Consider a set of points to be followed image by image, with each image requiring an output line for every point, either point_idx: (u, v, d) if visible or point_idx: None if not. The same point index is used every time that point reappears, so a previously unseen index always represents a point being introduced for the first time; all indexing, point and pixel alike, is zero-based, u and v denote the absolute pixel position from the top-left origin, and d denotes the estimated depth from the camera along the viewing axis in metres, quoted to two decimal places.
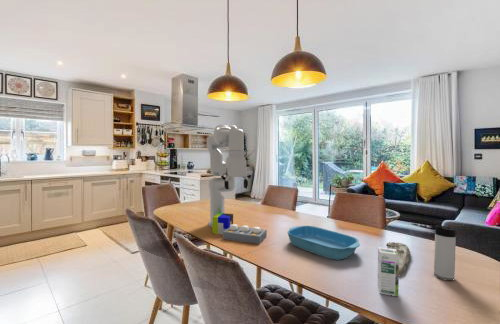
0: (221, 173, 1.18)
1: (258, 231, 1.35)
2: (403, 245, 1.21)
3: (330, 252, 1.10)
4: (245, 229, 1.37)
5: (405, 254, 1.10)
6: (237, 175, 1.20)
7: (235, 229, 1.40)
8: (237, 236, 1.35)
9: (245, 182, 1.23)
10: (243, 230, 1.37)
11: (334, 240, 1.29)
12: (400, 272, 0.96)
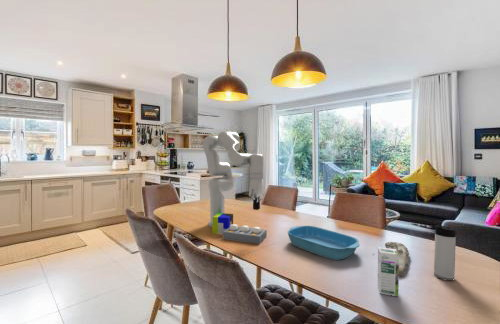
0: (254, 198, 1.32)
1: (258, 231, 1.35)
2: (401, 245, 1.22)
3: (330, 252, 1.10)
4: (245, 229, 1.37)
5: (404, 254, 1.10)
6: (259, 195, 1.35)
7: (235, 229, 1.40)
8: (237, 236, 1.35)
9: None
10: (243, 230, 1.37)
11: (334, 240, 1.29)
12: (402, 272, 0.96)
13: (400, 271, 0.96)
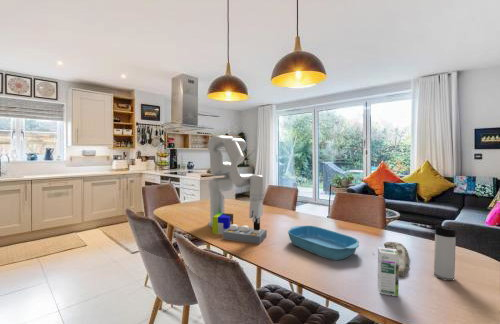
0: (255, 219, 1.32)
1: (258, 233, 1.35)
2: (399, 244, 1.22)
3: (328, 252, 1.10)
4: (245, 229, 1.37)
5: (404, 254, 1.10)
6: (260, 216, 1.36)
7: (235, 229, 1.40)
8: (237, 236, 1.35)
9: None
10: (243, 230, 1.37)
11: (335, 240, 1.29)
12: (403, 272, 0.96)
13: (401, 271, 0.96)
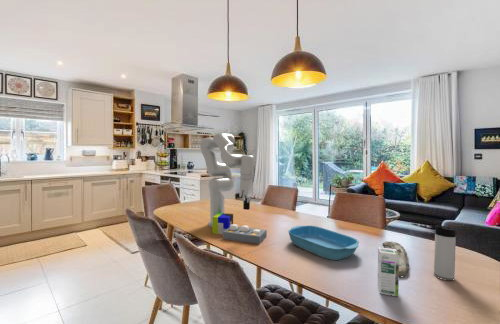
0: (244, 199, 1.34)
1: None
2: (397, 244, 1.23)
3: (326, 251, 1.10)
4: (245, 229, 1.37)
5: (403, 253, 1.11)
6: (250, 195, 1.38)
7: (235, 229, 1.40)
8: (237, 236, 1.35)
9: None
10: (243, 230, 1.37)
11: (336, 241, 1.28)
12: (405, 273, 0.96)
13: (403, 271, 0.96)
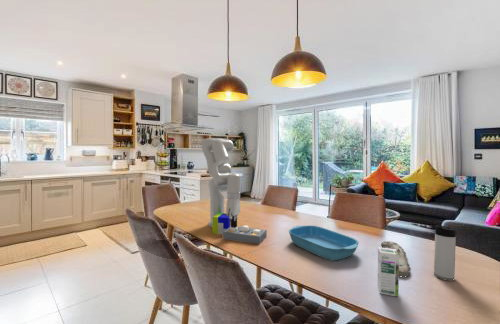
0: (231, 217, 1.37)
1: None
2: (394, 243, 1.23)
3: (325, 251, 1.10)
4: (245, 229, 1.37)
5: (402, 253, 1.11)
6: (237, 213, 1.41)
7: None
8: (237, 236, 1.35)
9: None
10: (243, 230, 1.37)
11: (336, 241, 1.28)
12: (407, 273, 0.96)
13: (405, 272, 0.95)
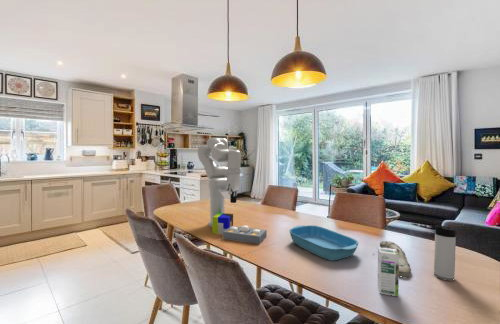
0: (231, 192, 1.39)
1: None
2: (392, 243, 1.24)
3: (323, 251, 1.10)
4: (245, 229, 1.37)
5: (401, 253, 1.11)
6: (236, 189, 1.43)
7: None
8: (237, 236, 1.35)
9: None
10: (243, 230, 1.37)
11: (337, 241, 1.27)
12: (409, 273, 0.96)
13: (407, 272, 0.95)
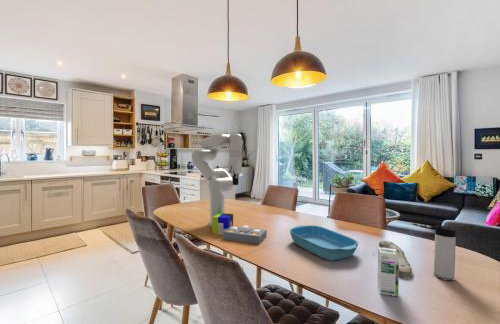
0: (233, 174, 1.44)
1: None
2: (391, 243, 1.24)
3: (322, 251, 1.10)
4: (245, 229, 1.37)
5: (401, 253, 1.11)
6: (238, 171, 1.47)
7: None
8: (237, 236, 1.35)
9: None
10: (243, 230, 1.37)
11: (337, 242, 1.27)
12: (410, 273, 0.95)
13: (409, 272, 0.95)
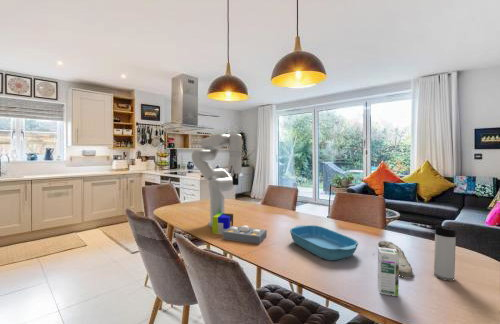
0: (233, 174, 1.44)
1: None
2: (390, 243, 1.24)
3: (321, 251, 1.10)
4: (245, 229, 1.37)
5: (401, 253, 1.11)
6: (238, 171, 1.47)
7: None
8: (237, 236, 1.35)
9: None
10: (243, 230, 1.37)
11: (338, 242, 1.27)
12: (411, 273, 0.95)
13: (410, 272, 0.95)
